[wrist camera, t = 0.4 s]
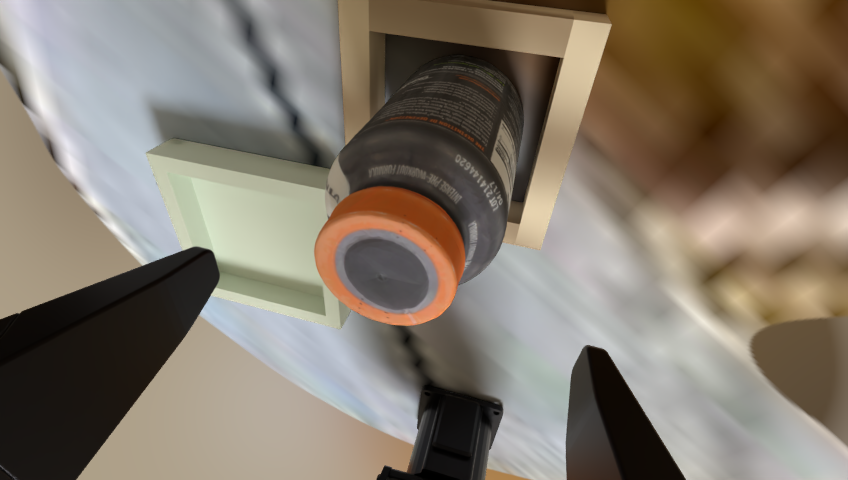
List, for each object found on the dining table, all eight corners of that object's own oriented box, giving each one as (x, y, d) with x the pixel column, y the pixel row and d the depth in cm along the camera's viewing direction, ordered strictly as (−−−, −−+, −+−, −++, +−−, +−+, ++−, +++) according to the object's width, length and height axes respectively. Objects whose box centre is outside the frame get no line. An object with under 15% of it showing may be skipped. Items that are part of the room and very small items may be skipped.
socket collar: (541, 227, 22) (540, 250, 20) (362, 190, 23) (348, 209, 22) (606, 14, 16) (611, 24, 14) (357, -16, 17) (337, -10, 16)
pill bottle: (377, 122, 21) (244, 266, 12) (451, 20, 17) (339, 119, 8) (467, 197, 22) (405, 377, 13) (553, 116, 18) (548, 290, 10)
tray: (352, 307, 30) (340, 329, 28) (216, 273, 31) (198, 292, 30) (345, 171, 23) (328, 190, 21) (172, 137, 25) (145, 152, 23)
